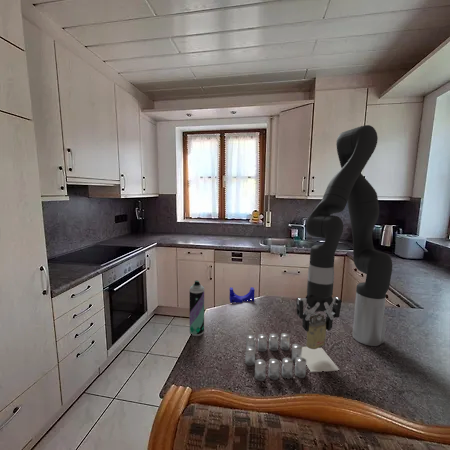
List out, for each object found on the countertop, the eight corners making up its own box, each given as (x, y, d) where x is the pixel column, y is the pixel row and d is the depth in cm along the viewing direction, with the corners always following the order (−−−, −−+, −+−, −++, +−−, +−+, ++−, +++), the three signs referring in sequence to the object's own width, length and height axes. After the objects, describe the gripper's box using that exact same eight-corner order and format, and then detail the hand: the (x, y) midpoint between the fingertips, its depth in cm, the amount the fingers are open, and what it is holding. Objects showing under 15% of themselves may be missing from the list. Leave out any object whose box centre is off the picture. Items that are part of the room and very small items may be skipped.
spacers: (291, 344, 89) (292, 332, 88) (312, 377, 73) (313, 363, 72) (240, 347, 87) (241, 335, 86) (250, 381, 71) (251, 366, 70)
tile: (320, 346, 88) (320, 345, 88) (339, 370, 76) (339, 369, 76) (295, 348, 87) (295, 347, 87) (310, 372, 75) (310, 371, 75)
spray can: (186, 331, 96) (186, 281, 93) (198, 326, 100) (198, 277, 97) (195, 337, 92) (195, 284, 89) (207, 332, 96) (207, 281, 93)
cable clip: (230, 302, 122) (230, 290, 122) (229, 299, 127) (229, 287, 126) (254, 302, 123) (255, 290, 122) (253, 298, 127) (253, 287, 127)
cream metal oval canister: (318, 338, 84) (320, 310, 83) (328, 344, 81) (330, 315, 80) (303, 345, 81) (305, 315, 79) (313, 351, 77) (315, 320, 76)
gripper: (335, 274, 83) (332, 323, 85) (293, 275, 81) (290, 324, 83) (349, 283, 75) (345, 335, 77) (303, 283, 74) (299, 337, 76)
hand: (316, 329), depth 80 cm, fingers closed on cream metal oval canister, 6 cm apart
